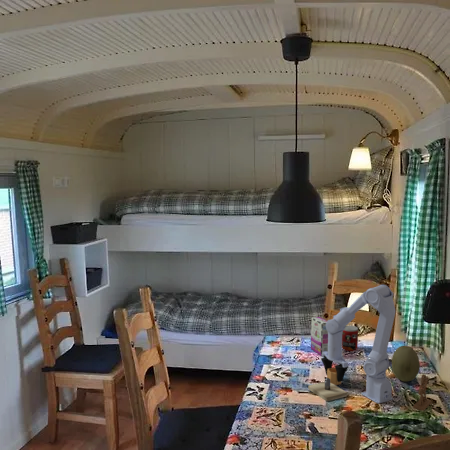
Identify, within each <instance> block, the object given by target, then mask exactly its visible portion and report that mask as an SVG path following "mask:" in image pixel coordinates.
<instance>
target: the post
mask: <svg viewBox="0 0 450 450" xmlns="http://www.w3.org/2000/svg"><path fill="white" fill-rule="evenodd" d="M324 382H325V390H330V379H329V378H327V377H326V378H324Z"/></svg>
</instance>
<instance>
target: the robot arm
mask: <svg viewBox="0 0 450 450" xmlns="http://www.w3.org/2000/svg"><path fill="white" fill-rule="evenodd" d="M393 296H394V292H393V291H392V290H391V288H390V287H389V286H388V285H386V284H380V285H377V286H375V287H370V288H368V289H366V291H364V292H362V293H361V294H360V296H359V297H358V298H356V300H355V301H354V302H353V303H352V304H351V305H349V307H348V306H347V307H346V306H344V307H341V308H340V309H339V312H338V313H337V314H334V315H333V316H332V319H328V320H326V321H327V323H326V330H327V331H328V352H327V351H323V352H322V356H321V358H320V360H321V362H322V364H323V366H324V372H325V374H326V376H327V370H328V368H333V363H334V362H335V363H336V364H338V365H334V368H336V372H337V381H338V382H341V381H342V382H343V380H344V376H345V374H346V372H347V370H348V369H349V364H348V363H349V362H348V361H346V359H345V358H344V355H343V349H342V334H343V330H344V329H345V326H348V325H349V324H350V323H351V322H352V321H353V320H354V319H355V318H356V313H357V312H358V311H360V310H361V309H362V308H364V307H365V306H366V305H368V304H370V305H371V306H372V307H373V308H374V309H375V310H377V312H378V313H379V317H378V321H377V326H376V330H375V335H374V340H373V344H372V349H371V351H370V353H369V354H368V356H367V358H366V361H364V363H363V371H364V373H365V374H366V379H365V380H366V382H365V383H366V385H365V386H366V387H365V391H362V392H361V393H360V394H361V395H362V396H364V397H366V398H368V399H369V400H371V401H373V402H374V403H376V404H382V403H385V402H389V401H393V400H394V397H392V395H393V394H392V393H393V390H392V389H393V387H392V386H393V385H392V381H390V380H389V379H388V378H387V370H388V369H389V367H390V363H389V362H390V361H389V357H390V355H389V354H388V352H387V351H388V347H389V342H390V337H391V334H392V329H393V325H394V324H393V323H394V321H395V316H396V306H395V301H394V297H393ZM342 382H341V383H342Z"/></svg>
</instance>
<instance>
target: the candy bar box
mask: <svg viewBox="0 0 450 450" xmlns="http://www.w3.org/2000/svg"><path fill="white" fill-rule="evenodd" d="M327 321H328V320H326V319H324V318H322V317H320V316H317V317H316V316H315V317H314V316H313V317H311V327H310V328H311V330H310V331H311V332H310V334H311V335H310V350H312V351H313V352H314V353H316V354H318V355H319V356H321V357H323V356H322V352H323V351H327V352H328V331H327V330H326V323H327Z"/></svg>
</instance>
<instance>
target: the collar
mask: <svg viewBox="0 0 450 450" xmlns="http://www.w3.org/2000/svg"><path fill="white" fill-rule="evenodd" d="M326 378H329V379H330V383H332V384H334V385H335V386H338V385H341V384H342V382H343V381H341V382H338V381H337V372H336V368H335V367H332V368H328V370H327V375H326Z"/></svg>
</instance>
